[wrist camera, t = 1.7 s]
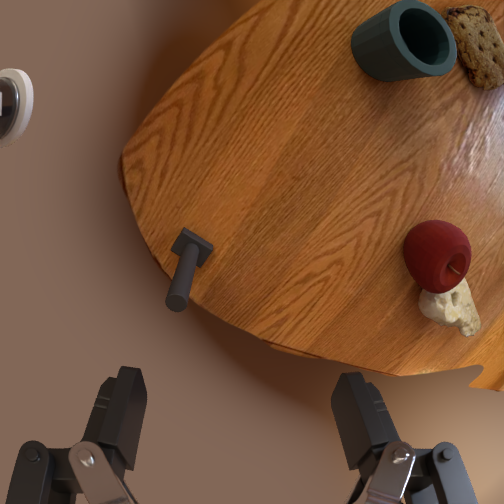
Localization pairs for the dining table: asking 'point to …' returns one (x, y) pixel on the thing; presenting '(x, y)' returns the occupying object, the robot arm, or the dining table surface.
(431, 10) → the crock
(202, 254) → the t-shaped mushroom stamp
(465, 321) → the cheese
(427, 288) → the apple
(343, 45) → the dining table surface
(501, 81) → the pastry
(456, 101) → the dining table surface
